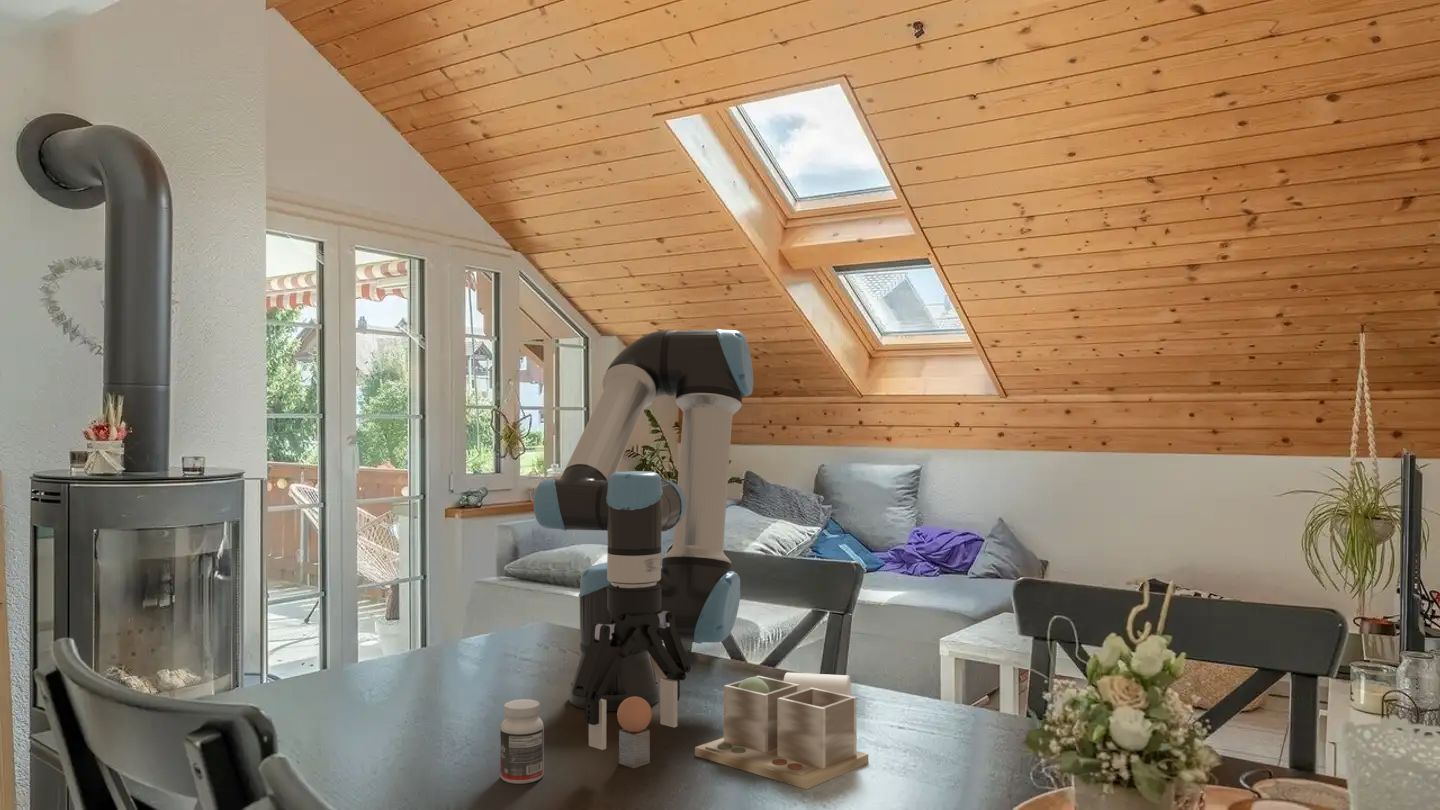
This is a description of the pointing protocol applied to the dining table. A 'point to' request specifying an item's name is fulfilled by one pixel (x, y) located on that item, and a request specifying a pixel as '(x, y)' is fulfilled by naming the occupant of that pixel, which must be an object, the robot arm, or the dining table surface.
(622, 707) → the ball terracotta
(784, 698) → the rack
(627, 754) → the post
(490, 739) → the dining table surface
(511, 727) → the pill bottle
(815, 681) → the mug
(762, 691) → the ball sage upper
